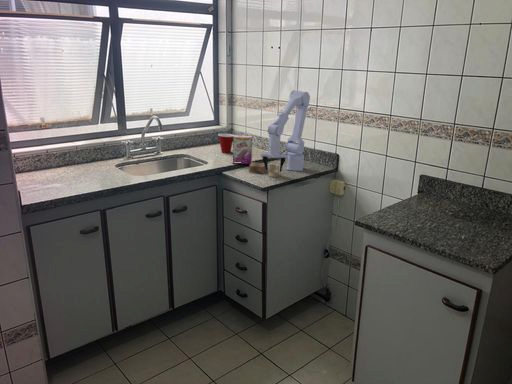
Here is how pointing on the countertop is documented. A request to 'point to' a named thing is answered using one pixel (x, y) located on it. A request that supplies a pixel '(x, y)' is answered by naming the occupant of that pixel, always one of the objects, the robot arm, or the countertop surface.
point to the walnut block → (257, 167)
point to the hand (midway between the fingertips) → (273, 170)
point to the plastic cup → (226, 142)
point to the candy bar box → (242, 149)
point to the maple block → (273, 170)
